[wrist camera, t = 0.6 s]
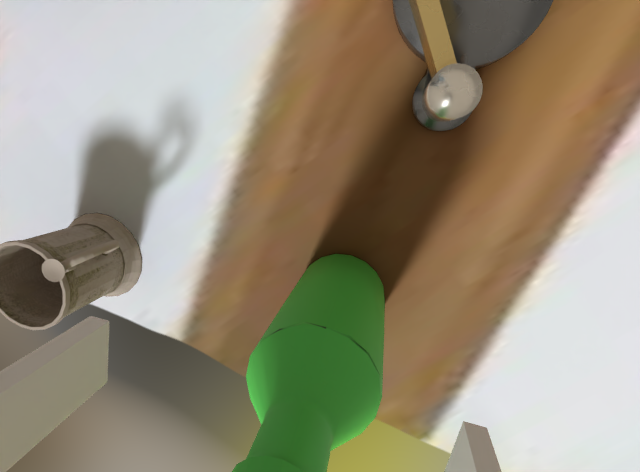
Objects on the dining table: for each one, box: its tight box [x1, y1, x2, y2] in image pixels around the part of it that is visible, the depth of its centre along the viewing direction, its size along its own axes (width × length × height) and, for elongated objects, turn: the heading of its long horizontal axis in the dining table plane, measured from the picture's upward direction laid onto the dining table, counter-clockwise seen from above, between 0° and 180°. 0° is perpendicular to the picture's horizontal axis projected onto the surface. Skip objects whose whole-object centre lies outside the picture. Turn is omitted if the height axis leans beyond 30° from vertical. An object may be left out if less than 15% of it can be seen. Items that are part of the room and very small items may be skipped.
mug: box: [0, 213, 142, 330], centre depth 37 cm, size 14×10×12 cm
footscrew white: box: [408, 0, 483, 122], centre depth 28 cm, size 12×4×6 cm, turn 20°
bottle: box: [232, 254, 385, 472], centre depth 27 cm, size 9×9×25 cm
